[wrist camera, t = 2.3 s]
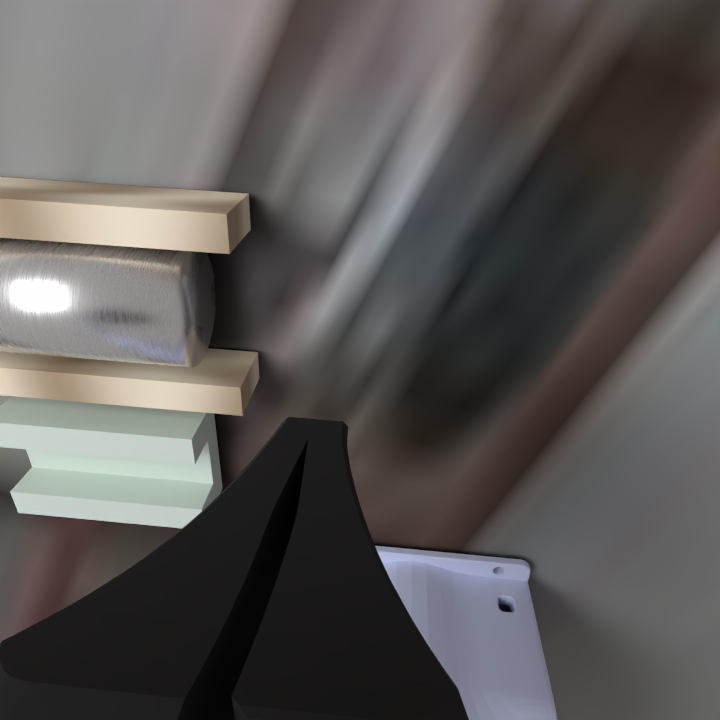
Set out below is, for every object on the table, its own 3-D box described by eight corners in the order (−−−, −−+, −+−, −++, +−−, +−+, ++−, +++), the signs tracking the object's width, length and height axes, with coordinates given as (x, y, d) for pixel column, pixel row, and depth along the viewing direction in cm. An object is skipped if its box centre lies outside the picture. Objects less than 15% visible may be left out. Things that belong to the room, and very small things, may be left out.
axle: (212, 234, 19) (166, 263, 15) (218, 339, 21) (178, 388, 17) (-35, 217, 19) (-137, 241, 16) (-9, 321, 21) (-96, 365, 17)
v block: (212, 401, 22) (191, 439, 20) (222, 487, 24) (204, 530, 22) (24, 385, 22) (-17, 421, 20) (52, 472, 25) (18, 512, 23)
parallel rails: (248, 193, 18) (226, 213, 15) (259, 378, 21) (242, 415, 19) (-102, 170, 18) (-170, 186, 16) (-33, 354, 22) (-81, 388, 20)
